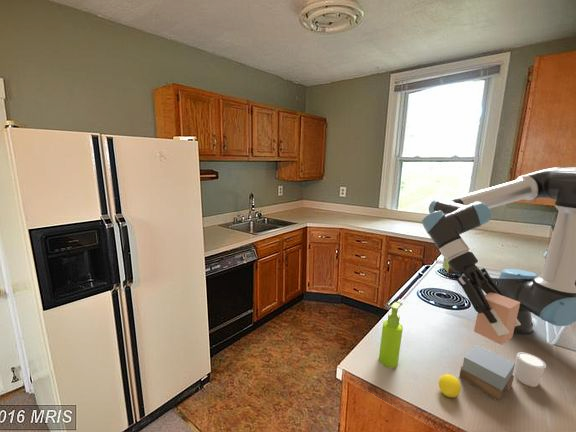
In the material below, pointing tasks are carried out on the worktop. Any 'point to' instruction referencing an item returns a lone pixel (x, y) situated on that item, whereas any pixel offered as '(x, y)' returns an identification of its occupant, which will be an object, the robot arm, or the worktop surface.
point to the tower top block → (488, 366)
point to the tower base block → (485, 384)
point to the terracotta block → (505, 312)
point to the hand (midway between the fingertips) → (509, 329)
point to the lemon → (449, 385)
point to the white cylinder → (529, 369)
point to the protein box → (448, 268)
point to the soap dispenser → (391, 338)
